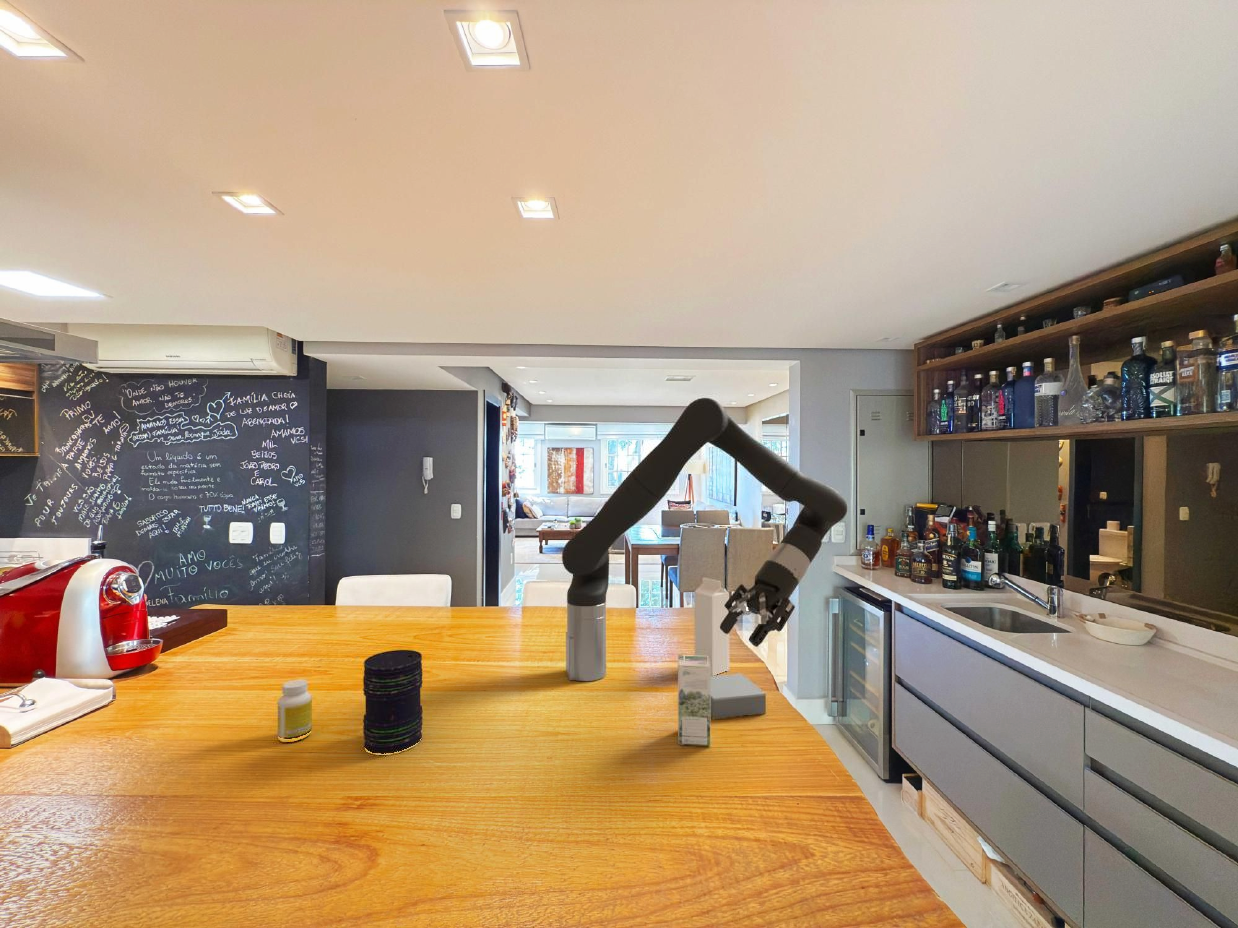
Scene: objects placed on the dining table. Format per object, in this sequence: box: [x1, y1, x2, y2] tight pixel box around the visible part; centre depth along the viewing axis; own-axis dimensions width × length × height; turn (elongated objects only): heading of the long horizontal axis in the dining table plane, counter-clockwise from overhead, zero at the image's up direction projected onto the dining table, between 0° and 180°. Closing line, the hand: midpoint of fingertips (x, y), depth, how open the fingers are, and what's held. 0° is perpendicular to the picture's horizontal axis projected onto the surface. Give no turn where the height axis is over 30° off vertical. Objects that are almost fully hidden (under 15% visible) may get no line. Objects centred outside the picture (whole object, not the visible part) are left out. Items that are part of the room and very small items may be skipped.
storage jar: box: [362, 649, 424, 754], centre depth 99 cm, size 10×10×15 cm
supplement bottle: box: [277, 679, 313, 739], centre depth 101 cm, size 5×5×10 cm
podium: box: [710, 673, 767, 720], centre depth 114 cm, size 11×11×4 cm
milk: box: [693, 577, 730, 676], centre depth 134 cm, size 6×6×22 cm
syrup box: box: [677, 654, 712, 747], centre depth 100 cm, size 6×6×14 cm
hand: (737, 637), depth 105 cm, fingers open, 8 cm apart
